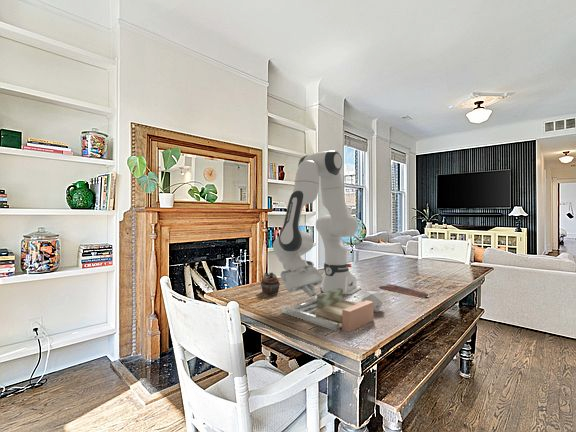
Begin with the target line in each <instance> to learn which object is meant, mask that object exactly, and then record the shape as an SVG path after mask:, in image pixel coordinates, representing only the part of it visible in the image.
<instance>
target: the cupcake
mask: <svg viewBox="0 0 576 432" xmlns="http://www.w3.org/2000/svg"><path fill="white" fill-rule="evenodd" d="M280 283H281V282H280V281H279V278H278V277H277V274H274V272H264V274H263V277H262V280H261V281H260V287H261V291H262V294H263V295H267V296H268V295H270V296H272V295H273V294H274V295H277V294H279V290H280ZM274 295H273V296H274Z"/></svg>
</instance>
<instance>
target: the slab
mask: <svg viewBox="0 0 576 432" xmlns="http://www.w3.org/2000/svg"><path fill="white" fill-rule="evenodd" d="M316 296H317V307H316V308H315V314H316V315H319V316H322V317H325V318H328V319H331V320H335V321H338V323H339V322H341V323H342V310H343V309H345V308H348V307H350V306H353V305H356V304H358V303H356V302H352V301H348V300H344V294H343V289H340V288H338V289H335V290H331V291H328V292H322V293H318V294H316Z"/></svg>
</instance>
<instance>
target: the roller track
mask: <svg viewBox="0 0 576 432" xmlns="http://www.w3.org/2000/svg"><path fill="white" fill-rule="evenodd" d="M316 307H317V295H315V296H313V299H312V300H309V301H305V302H303V303H300V304H297V305H293V306H287V305H283V306H282V309H281V310H282V311H281V313H283V314H284V315H287V314H288V316H290V315H291V317H293V316H294V317H293V318H296V317H297V319H299V318H300V319H299V320H302V319H303V321H305V322H308V323H311V324H315V325H317V326H320V327H323V328H326V329H329V330H332V331H334V332H338V331H340V330H341V329H342V323H341V322H338V321H335V320H331V319H328V318H325V317H322V316H319V315H316V314H315V308H316Z"/></svg>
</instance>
